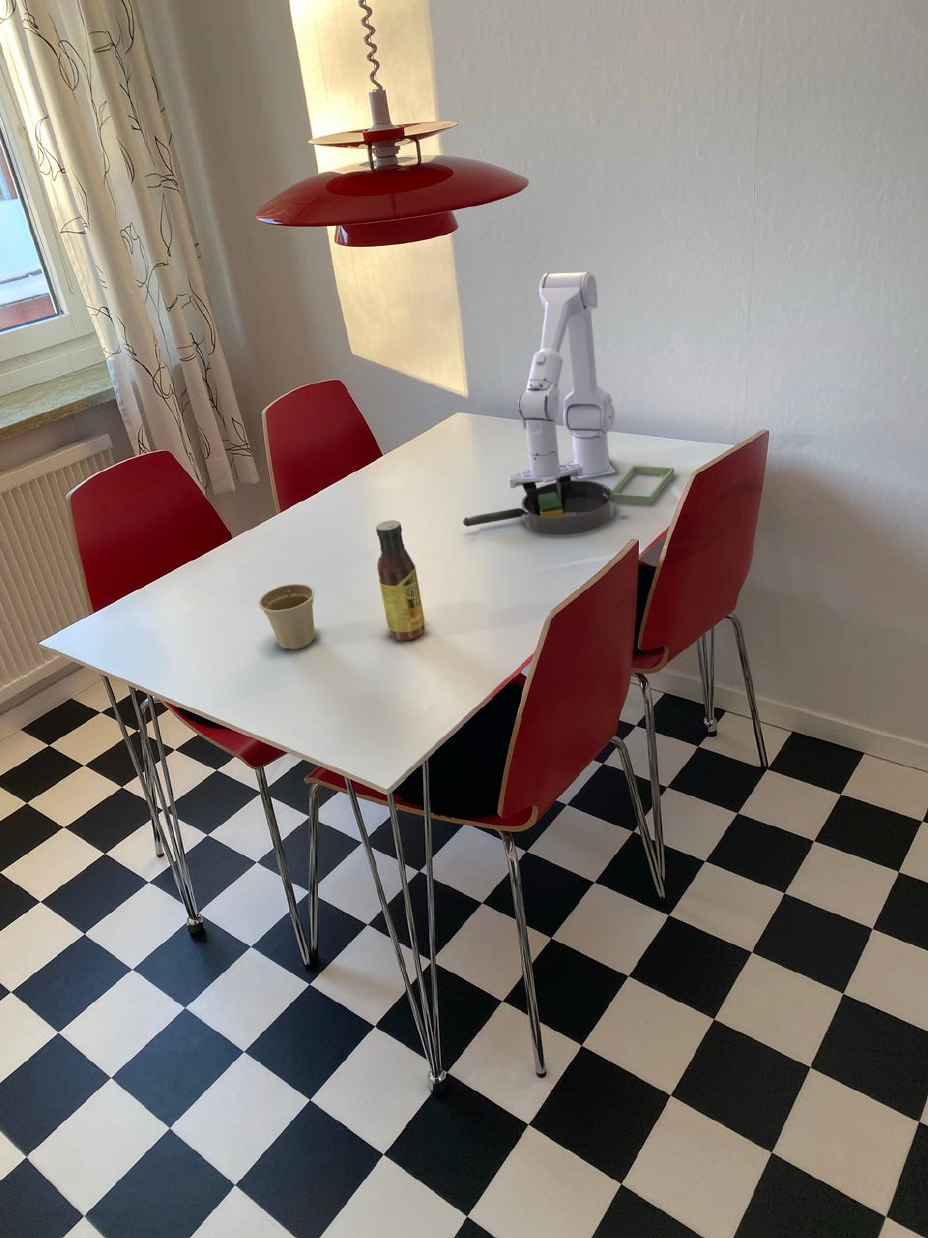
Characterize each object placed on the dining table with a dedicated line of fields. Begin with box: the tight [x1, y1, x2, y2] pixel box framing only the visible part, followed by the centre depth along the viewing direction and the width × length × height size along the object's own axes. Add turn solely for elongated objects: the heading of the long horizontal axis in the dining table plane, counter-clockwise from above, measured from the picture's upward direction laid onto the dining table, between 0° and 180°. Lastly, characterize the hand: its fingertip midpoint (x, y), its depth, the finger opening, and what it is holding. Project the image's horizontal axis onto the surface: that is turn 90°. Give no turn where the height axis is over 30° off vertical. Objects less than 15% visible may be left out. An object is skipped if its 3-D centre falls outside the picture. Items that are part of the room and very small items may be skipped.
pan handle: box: [462, 507, 523, 527], centre depth 195 cm, size 12×2×2 cm, turn 97°
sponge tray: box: [611, 464, 675, 505], centre depth 203 cm, size 15×9×2 cm, turn 152°
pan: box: [520, 479, 615, 536], centre depth 196 cm, size 18×18×4 cm
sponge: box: [538, 492, 563, 517], centre depth 196 cm, size 7×4×4 cm, turn 7°
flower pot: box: [258, 583, 316, 650], centre depth 167 cm, size 9×9×9 cm
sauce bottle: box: [375, 519, 426, 641], centre depth 161 cm, size 6×6×20 cm
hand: (549, 514), depth 196 cm, fingers closed on sponge, 4 cm apart
